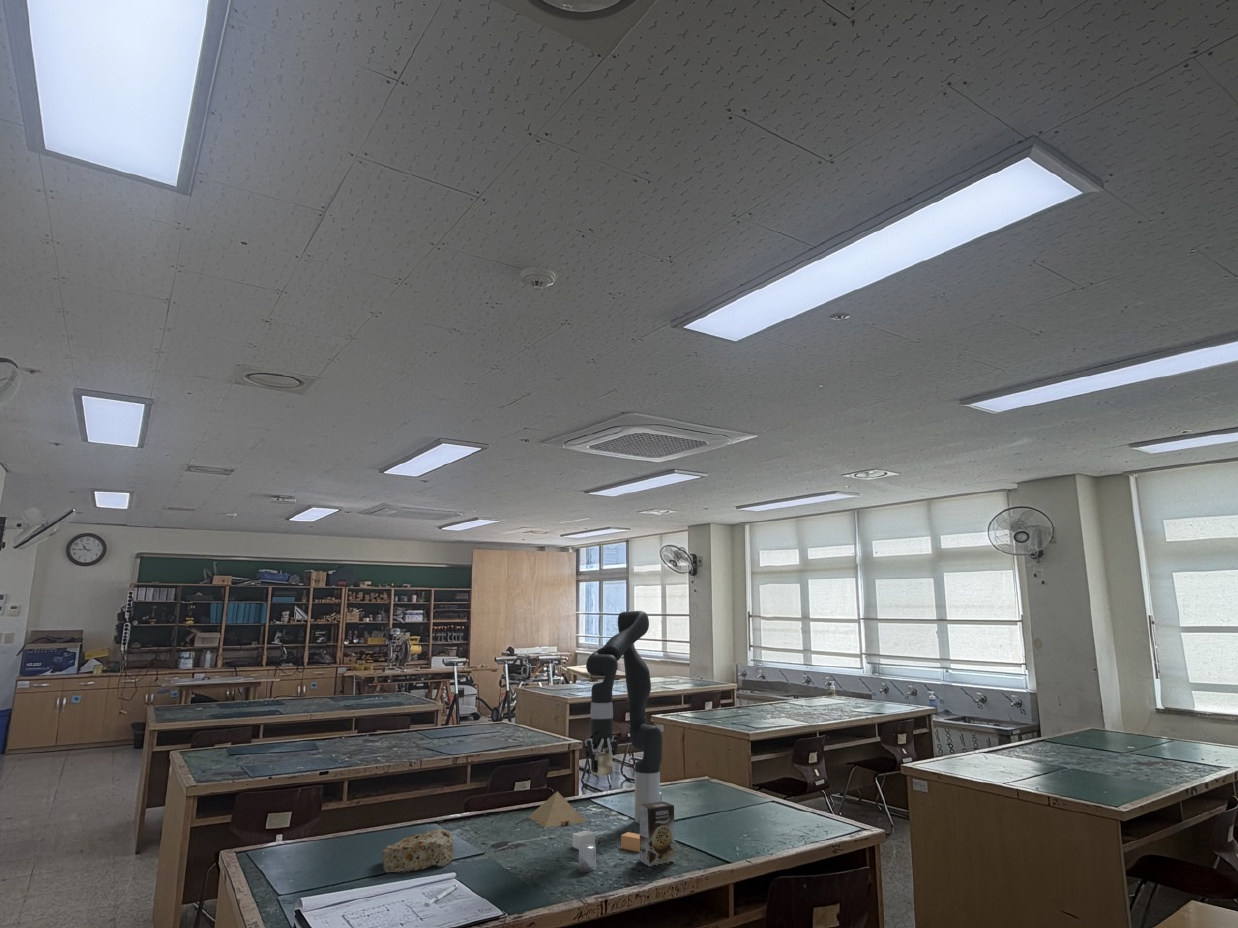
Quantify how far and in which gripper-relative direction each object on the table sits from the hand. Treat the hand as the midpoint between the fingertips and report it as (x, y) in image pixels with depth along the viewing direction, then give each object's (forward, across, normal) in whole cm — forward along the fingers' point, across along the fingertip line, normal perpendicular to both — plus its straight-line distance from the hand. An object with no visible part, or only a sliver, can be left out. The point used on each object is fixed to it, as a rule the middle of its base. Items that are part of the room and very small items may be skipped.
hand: (601, 770), depth 230 cm
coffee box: (+23, -5, +21) cm, 32 cm away
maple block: (+1, 0, 0) cm, 1 cm away
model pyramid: (+24, -9, -36) cm, 44 cm away
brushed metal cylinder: (+23, +15, +12) cm, 30 cm away
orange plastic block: (+23, -8, +7) cm, 26 cm away
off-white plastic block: (+23, +3, -5) cm, 24 cm away
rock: (+23, +51, -24) cm, 61 cm away
